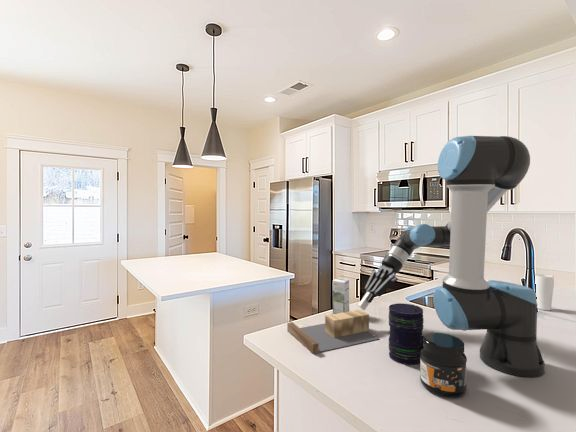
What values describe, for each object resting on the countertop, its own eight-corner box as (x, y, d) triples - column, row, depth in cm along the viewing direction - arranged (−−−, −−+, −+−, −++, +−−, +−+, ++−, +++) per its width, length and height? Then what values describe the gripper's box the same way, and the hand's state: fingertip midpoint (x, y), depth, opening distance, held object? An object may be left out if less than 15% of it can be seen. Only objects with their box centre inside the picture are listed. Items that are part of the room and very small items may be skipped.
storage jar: (382, 357, 92) (382, 308, 92) (396, 346, 99) (396, 301, 99) (416, 369, 85) (416, 316, 85) (428, 356, 92) (428, 307, 92)
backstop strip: (292, 330, 114) (292, 322, 114) (318, 352, 96) (318, 343, 96) (287, 330, 113) (287, 322, 113) (313, 354, 95) (312, 344, 95)
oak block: (358, 309, 117) (325, 315, 111) (368, 314, 112) (334, 320, 106) (359, 325, 117) (325, 331, 111) (369, 330, 112) (334, 337, 106)
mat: (346, 320, 123) (346, 319, 123) (379, 339, 105) (379, 338, 105) (292, 330, 114) (292, 329, 114) (318, 352, 96) (318, 351, 96)
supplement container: (414, 388, 76) (414, 340, 76) (426, 371, 84) (426, 328, 84) (461, 405, 69) (461, 353, 69) (470, 385, 77) (470, 338, 77)
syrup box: (349, 311, 134) (349, 279, 134) (344, 315, 129) (344, 281, 129) (337, 309, 137) (337, 277, 137) (332, 313, 132) (332, 280, 132)
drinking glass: (557, 311, 132) (558, 277, 132) (542, 311, 132) (542, 277, 132) (544, 306, 139) (545, 273, 138) (529, 306, 139) (530, 273, 139)
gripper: (412, 268, 117) (378, 319, 111) (388, 263, 129) (356, 308, 123) (401, 256, 115) (365, 306, 109) (378, 252, 127) (345, 297, 121)
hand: (361, 307), depth 116 cm, fingers closed
